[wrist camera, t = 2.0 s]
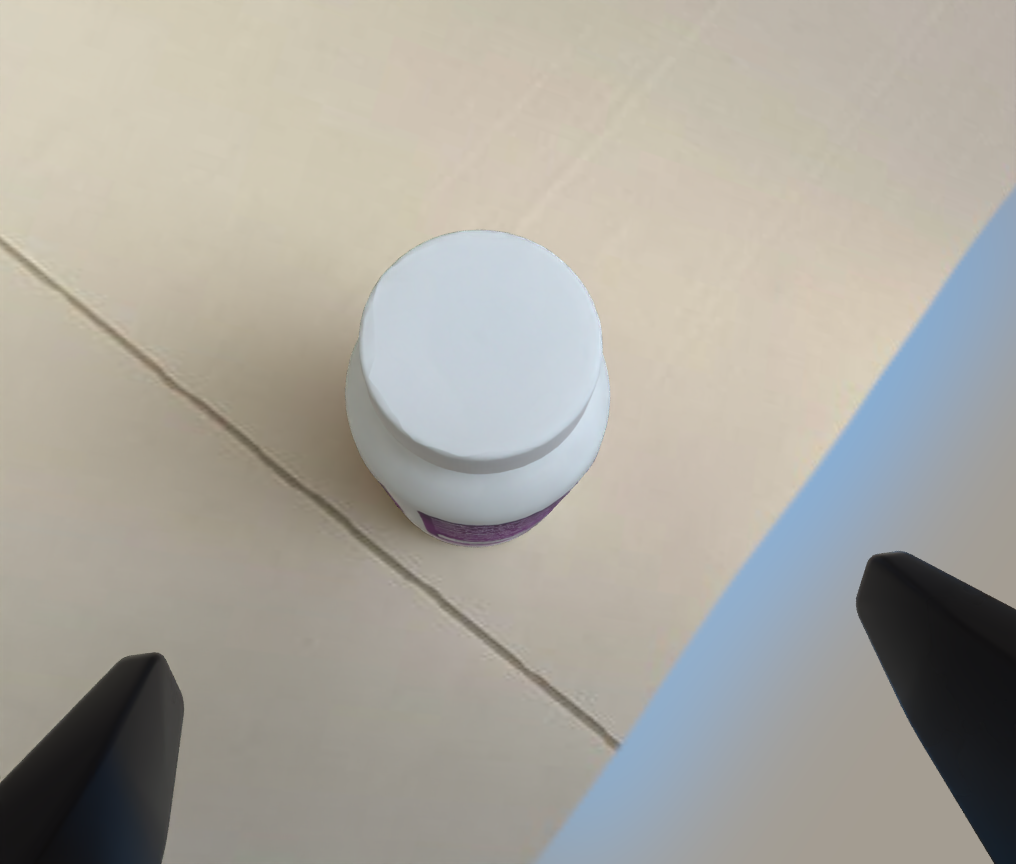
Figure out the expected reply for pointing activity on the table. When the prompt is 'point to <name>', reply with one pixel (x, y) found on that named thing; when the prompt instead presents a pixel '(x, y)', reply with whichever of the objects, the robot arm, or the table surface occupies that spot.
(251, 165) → the table surface
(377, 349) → the pill bottle
